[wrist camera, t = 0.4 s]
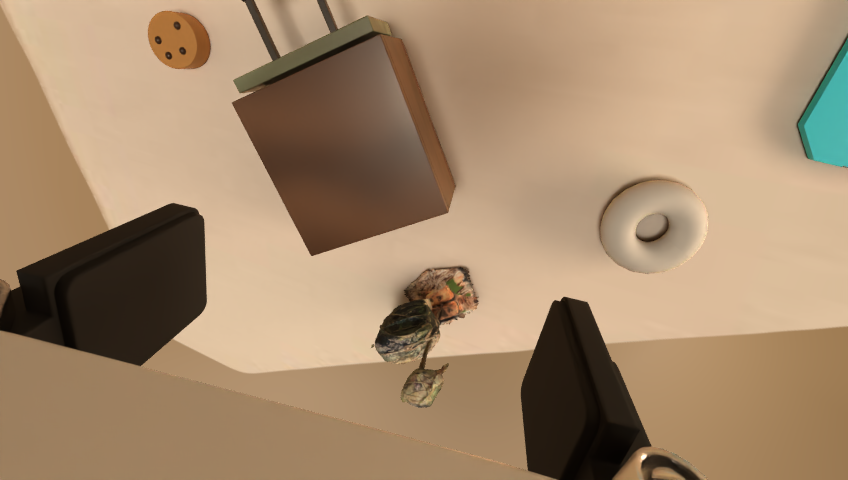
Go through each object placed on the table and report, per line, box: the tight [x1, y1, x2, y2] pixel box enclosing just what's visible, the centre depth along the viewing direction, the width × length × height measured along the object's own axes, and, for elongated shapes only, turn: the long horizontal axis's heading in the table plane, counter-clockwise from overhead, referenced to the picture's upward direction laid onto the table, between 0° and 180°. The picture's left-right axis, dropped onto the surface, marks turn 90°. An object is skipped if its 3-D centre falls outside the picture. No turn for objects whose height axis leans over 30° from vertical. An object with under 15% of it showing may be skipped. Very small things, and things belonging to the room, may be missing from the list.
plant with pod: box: [371, 267, 479, 408], centre depth 42 cm, size 8×11×20 cm
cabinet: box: [232, 34, 456, 256], centre depth 41 cm, size 16×15×9 cm
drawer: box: [233, 0, 392, 93], centre depth 39 cm, size 21×13×7 cm, turn 21°
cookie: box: [148, 11, 210, 69], centre depth 42 cm, size 5×5×2 cm
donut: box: [600, 180, 708, 274], centre depth 42 cm, size 10×3×10 cm
